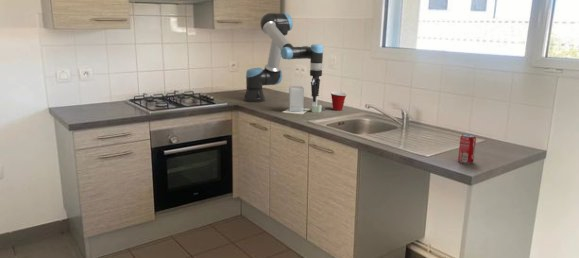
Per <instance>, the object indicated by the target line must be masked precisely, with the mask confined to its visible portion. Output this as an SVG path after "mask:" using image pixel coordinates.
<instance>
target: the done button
mask: <svg viewBox="0 0 579 258" xmlns="http://www.w3.org/2000/svg"><path fill="white" fill-rule="evenodd" d="M322 107H323V106H322V104H317V107H313V106H312V105H311V112H312V113H321V112H322V111H321V109H322Z"/></svg>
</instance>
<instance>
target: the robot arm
mask: <svg viewBox="0 0 579 258" xmlns="http://www.w3.org/2000/svg"><path fill="white" fill-rule="evenodd" d="M259 23H260V24H259V25H260V28H261V29H260V30H262V32H263V33H264V34H266V35H268V37H269V38H270V39H271V40H270V41H271V42H270V48H269V53H268V59H267V64H265V65H264V69H263V68H262V67H253V68H249V69H246V74H245V78H246V83H245V84H246V87H245V88H246V90H245V94H244V97H243V101H244V102H249V103H262V102H264V101H265V100H266V99H265V98H266V96H265V94H264V91H263V86H275V85H279V84H280V83H281V82H282V79H283V71H282V70H281V67H280V63H281V58H282V59H283V60H304V59H305V60H306V59H307V60H310V62H309V63H310V64H309V65H310V66H309V69H310V70H309V76H310V77H312V78H311V81H310V86H311V87H310V89H311V97H312V102H311V103H312V105H311V107H312V106H313V107H317V105H318V97H319V96H320V84H321V79H320V77H322V76H323V67H324V65H323V59H324V56H323V55H324V45H322V44H318V43H317V44H315V43H314V44H313V43H312V44H311V45H310V46H307V45H303V46H294V45H292V43H291V42H290V41H289V40H288V39H287V38H286V36H287V35H288V32H289V31H291V30H292V29H293V24H294V23H293V18H292V17H291V15H290V14H288V13H285V12H282V13H280V12H279V13H277V12H269V13H266V14H264V15H263V16H261V19H260V22H259Z"/></svg>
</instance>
